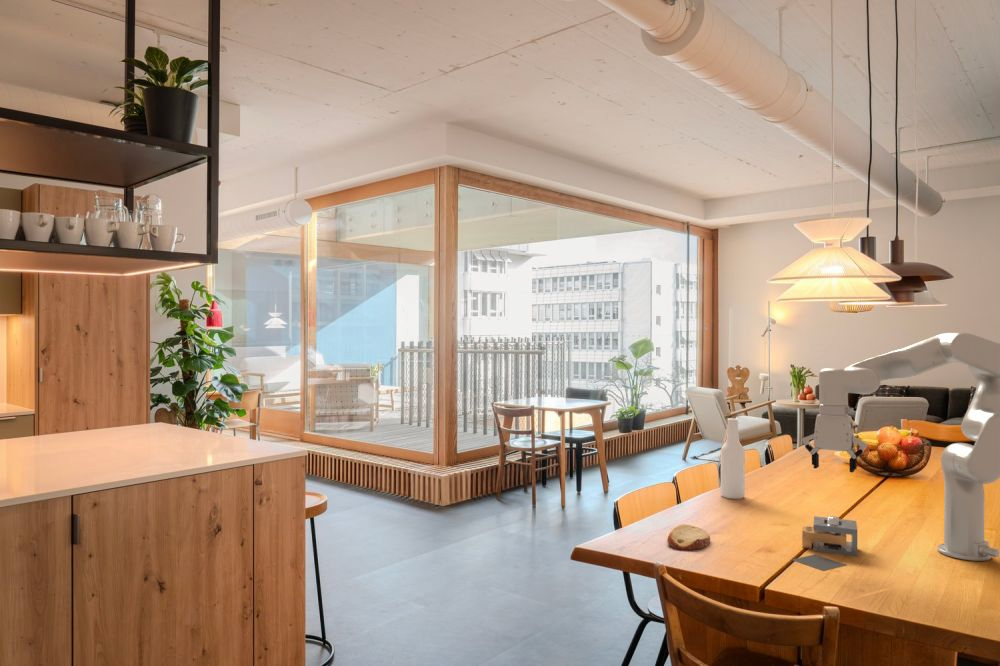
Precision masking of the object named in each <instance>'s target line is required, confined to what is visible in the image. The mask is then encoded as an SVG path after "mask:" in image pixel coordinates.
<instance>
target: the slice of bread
mask: <svg viewBox="0 0 1000 666" xmlns="http://www.w3.org/2000/svg"><path fill="white" fill-rule="evenodd" d="M667 543H668V545H669V547H671V548H673V549H674V550H677V551H682V552H691V551H692V552H693V551H695V550H700V549H701V550H702V549H705V548H706V547H708V546H709V545H710V543H711V536H710V535H709V534H708V532H707V531H706V530H704V529H702V528H700V527H697V526H694V525H691V524H684V523H682V524H680V525H678V526H676V527H674V528H672V530H671V531H670V532H669V534H668V536H667Z"/></svg>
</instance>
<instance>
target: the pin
mask: <svg viewBox="0 0 1000 666" xmlns="http://www.w3.org/2000/svg"><path fill="white" fill-rule="evenodd" d="M826 518H827V524H833V525H839V519H840V518H839V517H838V516H834V515H829V516H826ZM827 534H835V535H839V533H832V532H827ZM827 546H831V547H839V544H831V543H827ZM839 548H840V547H839Z"/></svg>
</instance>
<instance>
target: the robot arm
mask: <svg viewBox="0 0 1000 666" xmlns="http://www.w3.org/2000/svg"><path fill="white" fill-rule="evenodd" d="M951 363H960V364H961V363H962V364H964V365H967V367H968V369H969V370H970V372H971V374H973V377H974V380H975V385H976V387H975V392H974V395H973V398H972V400H971V401H970V404H969V405H968V408H967V410H966V413H965V414H964V417H963V419H962V422H961V426H960V428H961V433H962V434H963V435H964V437H966V438H967V439H969V440H971V441H973V442H974V444H973V445H972V444H970V443H966V442H965V443H964V442H955V443H951V444H949V445H948V446H946V447H945V448H944V449H943V451H942V453H941V457H940V458H941V459H940V462H941V470H942V475H943V482H944V483H943V485H944V486H943V487H944V495H943V496H944V497H943V498H944V499H943V502H944V503H943V504H944V505H943V508H944V509H943V513H944V514H943V517H944V518H943V541H944V542H943V543H941V544H938V545H937V551H938V552H939V553H940V554H942V555H945V556H947V557H950V558H951V557H952V558H955V559H959V560H965V561H966V560H967V561H971V562H972V561H973V562H974V561H975V562H977V561H978V562H983V561H988V560H989V561H990V560H991V559H992V557H994V558H999V557H1000V551H999V549H998V548H997V547H990V545H989V541H987V540H985V500H986V499H985V495H986V494H985V488H984V485H986V484H987V485H989V484H992V483H995V482H996V481H998V480H999V479H1000V343H998V342H996V341H992V340H989V339H987V338H984V337H981V336H979V335H976V334H972V333H969V332H963V331H962V332H959V331H958V332H956V331H954V332H953V331H952V332H950V331H949V332H942V333H940V334H937V335H934V336H931V337H929V338H926V339H923V340H921V341H918V342H916V343H913V344H910V345H908V346H906V347H905V346H904V347H903V348H899V349H896V350H892V351H889V352H887V353H884V354H880V355H876V356H873V357H870V358H867V359H865V360H862V361H859V362H856V363H854V364H851V365H848V366H846V367H845V368H844V369H843V368H839V367H838V368H835V367H832V368H831V367H830V368H828V367H827V368H822V369H820V371H819V373H818V396H819V397H818V402H819V403H818V404H819V407H818V408H819V409H818V413H819V414H818V413H817V415H816V419H815V424H814V433H812V434H809V435H807V436H805V437H803V438H802V439H801V442H802V443H803V445H804V447H805V449H806V450H807V451H808V452H809V453H810V455H811V465H812V466H813V469H818V468H819V467H820V459H819V458H820V455H819V453H818V452H819V451H820V450H826V451H838V452H846V453H847V454H848V456H849V457H850V458H849V473H854V472H855V470H857V468H858V467H857V464H858V463H857V460H858V459H857V458H858V457H859V456H861V455H862V454H863V453H864V452H865V450H866V448H867V447H868V443H867V442H865V441H863V440H862V439H860V438H857V437H856V436H855V433H854V432H855V431H854V423H853V419H852V416H851V415H849V414H851V413H854V411H855V410H854V407H850V406H849V394H859V395H870V394H873V393H875V392H876V391H878V389H880V386H881V382H882V381H883V382H884V381H888V380H895V379H905V378H912V377H916V376H919V375H922V374H923V373H927V372H930V371H932V370H935V369H937V368H940V367H943V366H946V365H948V364H951ZM811 440H813V445H814V447H813V446H812V445H811V444H810V441H811ZM855 444H857V445H859V448H858V450H857V451H856V450H855V449H854V448H855Z"/></svg>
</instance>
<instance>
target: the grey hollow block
mask: <svg viewBox="0 0 1000 666" xmlns="http://www.w3.org/2000/svg"><path fill="white" fill-rule="evenodd" d="M827 532H832V533H839V535H835V534H827ZM801 533H802V536H801V537H802V540H801V541H802V542H801V545H802V546H801V547H802V548H804V549H812V547H813V552H817V553H824V554H831V555H840V556H845V557H846V556H847V557H848V556H849V557H855V558H858V525H857V520H850V519H840V518H839V525H833V524H827V517H825V516H816V515H815V516H814V517H813V526H810V525H809V526H808V525H807V526H802V531H801ZM847 535H848V536H849V535H850V536H851V541H847ZM827 543H831V544H839V547H831V546H827Z"/></svg>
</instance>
